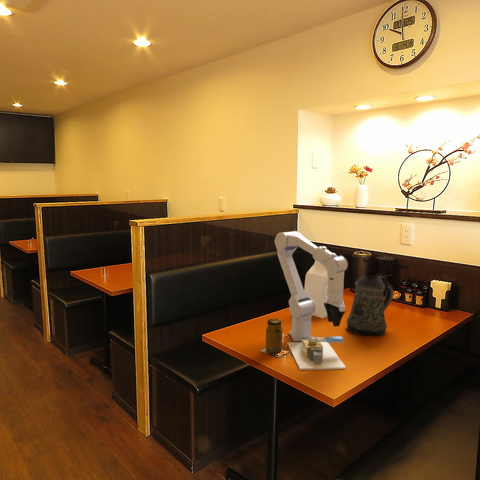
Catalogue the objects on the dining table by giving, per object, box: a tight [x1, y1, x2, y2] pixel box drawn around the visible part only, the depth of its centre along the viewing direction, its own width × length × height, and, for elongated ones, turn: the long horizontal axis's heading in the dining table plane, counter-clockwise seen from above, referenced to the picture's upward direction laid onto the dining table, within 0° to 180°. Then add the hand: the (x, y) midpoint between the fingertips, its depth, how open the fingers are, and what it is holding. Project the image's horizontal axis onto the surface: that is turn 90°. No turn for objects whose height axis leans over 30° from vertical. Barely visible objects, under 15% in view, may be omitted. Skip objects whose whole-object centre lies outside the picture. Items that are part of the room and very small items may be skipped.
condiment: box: [260, 318, 283, 358], centre depth 153 cm, size 7×8×12 cm
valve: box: [301, 336, 323, 365], centre depth 150 cm, size 17×6×5 cm, turn 5°
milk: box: [303, 259, 328, 319], centre depth 197 cm, size 12×12×26 cm
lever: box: [308, 335, 344, 344], centre depth 150 cm, size 13×3×1 cm, turn 95°
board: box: [287, 341, 347, 371], centre depth 151 cm, size 22×16×1 cm
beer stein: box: [346, 272, 394, 338], centre depth 176 cm, size 16×19×25 cm
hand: (333, 323), depth 154 cm, fingers open, 4 cm apart
